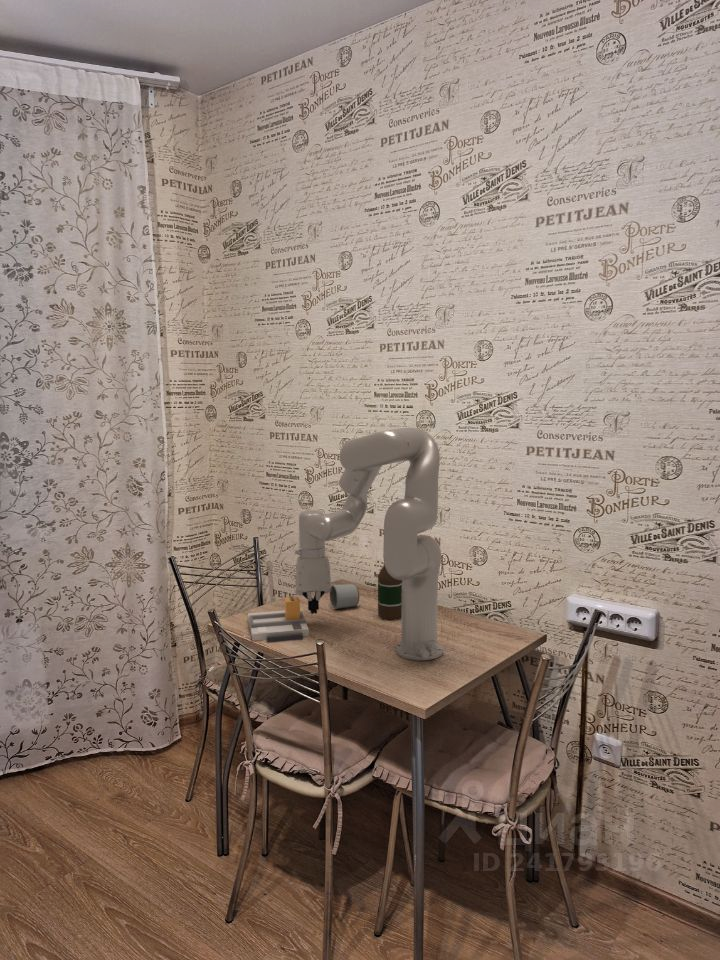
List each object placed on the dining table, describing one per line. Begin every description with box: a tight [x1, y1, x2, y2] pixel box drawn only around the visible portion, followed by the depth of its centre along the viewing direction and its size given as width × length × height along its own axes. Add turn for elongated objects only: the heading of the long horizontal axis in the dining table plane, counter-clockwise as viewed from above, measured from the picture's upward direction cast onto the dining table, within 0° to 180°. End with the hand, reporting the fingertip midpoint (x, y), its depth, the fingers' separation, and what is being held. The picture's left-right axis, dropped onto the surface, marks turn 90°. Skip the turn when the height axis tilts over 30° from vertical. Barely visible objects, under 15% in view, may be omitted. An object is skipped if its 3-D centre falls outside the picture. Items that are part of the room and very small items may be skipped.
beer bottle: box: [377, 564, 403, 621], centre depth 209 cm, size 8×8×24 cm
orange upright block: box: [283, 596, 301, 620], centre depth 202 cm, size 4×4×6 cm
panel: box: [247, 609, 310, 642], centre depth 202 cm, size 18×16×3 cm
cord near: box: [266, 633, 304, 643], centre depth 192 cm, size 1×10×1 cm, turn 103°
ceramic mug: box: [329, 583, 360, 610], centre depth 221 cm, size 11×8×8 cm
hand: (313, 612), depth 204 cm, fingers closed
